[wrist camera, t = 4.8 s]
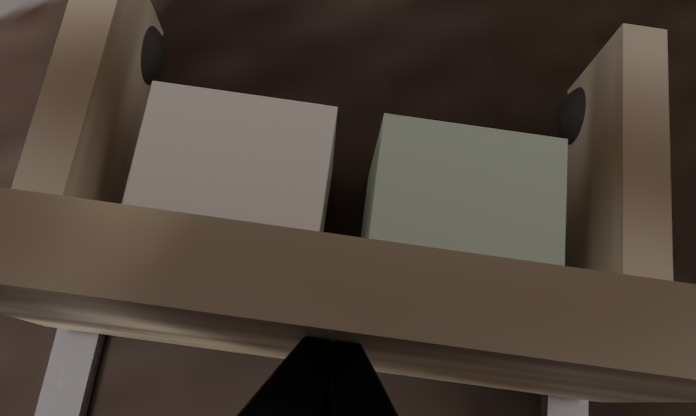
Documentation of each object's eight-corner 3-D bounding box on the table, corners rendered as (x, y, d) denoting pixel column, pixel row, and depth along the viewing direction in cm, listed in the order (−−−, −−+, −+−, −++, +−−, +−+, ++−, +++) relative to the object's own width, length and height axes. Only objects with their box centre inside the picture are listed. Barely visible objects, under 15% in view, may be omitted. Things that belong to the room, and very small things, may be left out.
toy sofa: (609, 404, 15) (890, 406, 8) (35, 326, 15) (-232, 252, 8) (611, 104, 18) (828, -111, 10) (115, 33, 17) (-29, -238, 10)
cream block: (310, 316, 16) (310, 290, 12) (156, 294, 16) (106, 262, 12) (332, 171, 17) (337, 106, 14) (187, 151, 17) (152, 80, 14)
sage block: (504, 343, 16) (563, 324, 12) (349, 322, 16) (361, 297, 12) (511, 196, 17) (567, 138, 14) (368, 176, 17) (384, 112, 14)
